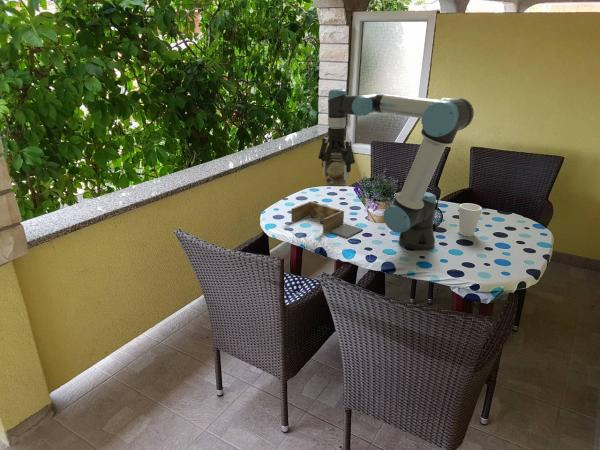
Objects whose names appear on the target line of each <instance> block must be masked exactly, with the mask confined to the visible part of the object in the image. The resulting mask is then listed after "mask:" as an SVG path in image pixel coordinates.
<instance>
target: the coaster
mask: <svg viewBox="0 0 600 450" xmlns="http://www.w3.org/2000/svg"><path fill="white" fill-rule="evenodd" d="M363 229H364V228H361V227H357V226H355V225H352V224H348V223H343V225H341V226H339V227H337V228H335V229H333V230H331V231H329V233H330V234H332V235H335V236H339V237H341V238H345V239H350V238H351V237H353V236H355V235H358V234H359V233H362V232H363Z"/></svg>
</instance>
